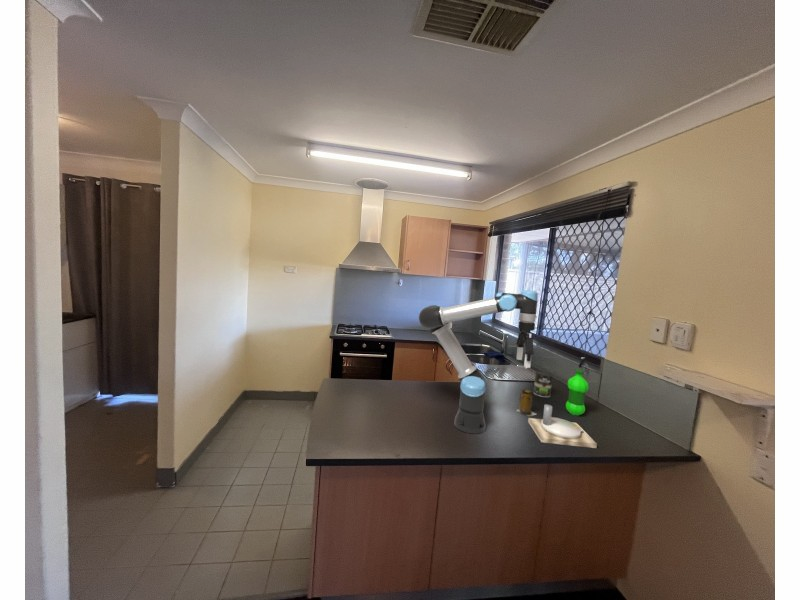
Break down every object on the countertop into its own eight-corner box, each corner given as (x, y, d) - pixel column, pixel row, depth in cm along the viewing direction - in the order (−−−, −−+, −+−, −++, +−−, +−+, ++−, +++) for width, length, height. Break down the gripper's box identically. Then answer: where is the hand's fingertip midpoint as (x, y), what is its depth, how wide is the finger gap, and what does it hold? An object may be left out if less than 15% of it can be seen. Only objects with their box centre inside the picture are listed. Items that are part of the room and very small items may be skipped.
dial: (586, 441, 142) (589, 417, 141) (547, 435, 144) (549, 413, 143) (572, 423, 158) (574, 402, 157) (537, 419, 161) (539, 398, 160)
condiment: (524, 408, 179) (526, 388, 178) (537, 414, 172) (539, 393, 171) (515, 410, 176) (517, 389, 174) (528, 417, 168) (530, 395, 167)
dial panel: (541, 442, 143) (542, 437, 143) (528, 421, 163) (528, 417, 162) (596, 448, 141) (597, 443, 140) (576, 426, 160) (576, 422, 160)
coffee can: (551, 398, 196) (554, 376, 195) (534, 395, 199) (536, 374, 198) (549, 392, 206) (551, 372, 205) (532, 390, 209) (534, 369, 208)
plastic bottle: (564, 414, 174) (569, 371, 171) (564, 407, 183) (569, 366, 181) (585, 419, 169) (590, 374, 167) (584, 412, 178) (589, 369, 176)
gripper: (543, 326, 142) (539, 371, 144) (527, 318, 167) (523, 357, 169) (526, 325, 143) (522, 370, 145) (512, 317, 168) (509, 356, 170)
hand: (522, 363), depth 157 cm, fingers open, 13 cm apart
